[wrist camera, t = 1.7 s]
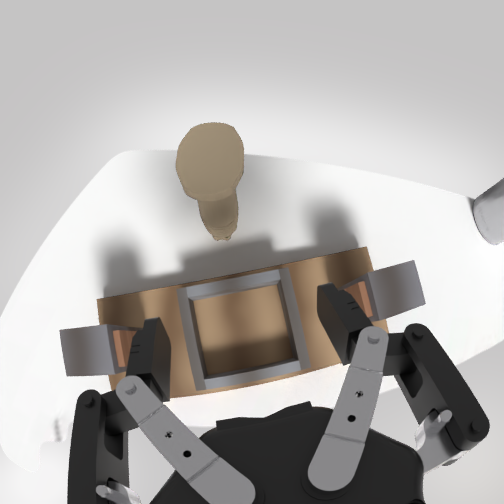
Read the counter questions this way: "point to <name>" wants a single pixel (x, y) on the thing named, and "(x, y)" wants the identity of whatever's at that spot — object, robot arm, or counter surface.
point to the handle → (212, 174)
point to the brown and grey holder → (241, 322)
